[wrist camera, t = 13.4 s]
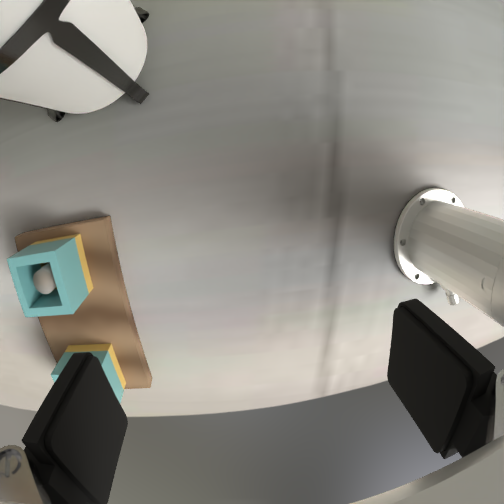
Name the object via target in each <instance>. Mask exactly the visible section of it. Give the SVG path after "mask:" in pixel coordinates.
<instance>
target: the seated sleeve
mask: <svg viewBox="0 0 504 504" xmlns="http://www.w3.org/2000/svg"><path fill="white" fill-rule="evenodd" d="M7 261H8V265H9V269H10V272H11V275H12V279H13V282H14V285H15V288H16V292H17V295H18V298H19V301H20V303H21V306H22V309H23V312H24V315H25V317H38V316H53V315H67V314H74V313H75V311H76V310H77V309H78V307H79V306H80V305H81V303H82V302H83V301H84V299H85V298H86V297H87V296H88V294H89V293H90V292H91V291H92V289H93V284H92V281H91V277H90V273H89V269H88V265H87V261H86V257H85V253H84V248H83V244H82V239H81V234H75V235H69V236H64V237H58V238H53V239H47V240H42V241H37V242H34V243H33V244H31V245H29V246H27V247H26V248H24V249H22V250H21V251H19V252H17V253H16V254H14V255H13V256H11V257H9V258H8V259H7ZM47 262H50V265H51V269H52V272H53V276H54V280H55V283H56V286H57V287H56V288H55V289H54V290H53V291H52V292H51V293H49V294H42V293H40V292H39V291H38V290H37V289H36V287H35V286H34V283H33V276H34V274H35V273H36V272H37V271H38V270H39V269H40V268H42V267H43V266H44V265H46V264H47Z"/></svg>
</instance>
